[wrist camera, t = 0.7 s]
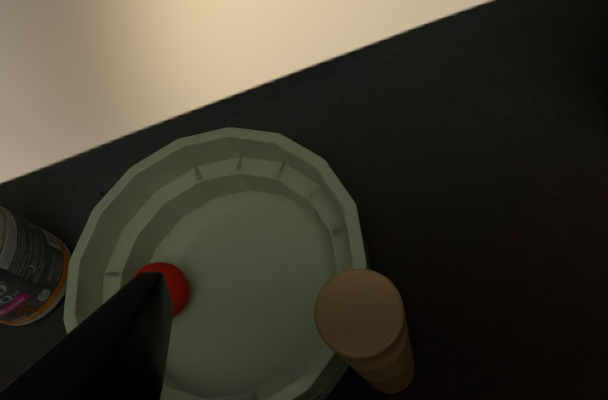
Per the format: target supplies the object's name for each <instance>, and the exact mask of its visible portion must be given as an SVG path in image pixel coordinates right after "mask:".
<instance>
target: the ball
mask: <svg viewBox="0 0 608 400" xmlns="http://www.w3.org/2000/svg"><path fill="white" fill-rule="evenodd" d="M150 271H160V272H162V273H163V274H164V276H165V278H166V282H167V285H168V289H169V292H170V296H171V299H172V303H173V317H174V316H176V315H177V314H178V313H180V312H181V310H182V309H183V308H184V306H185V305H186V303H187V300H188V296H189V284H188V281H187V278H186V276H185V275H184V273H183V272H182V271H181V270H180V269H179V268H177V267H176V266H174V265H172V264H170V263H166V262H154V263H150V264H148V265H146V266H144V267H142V268H141V269H140V270H138V271H137V272H136V273H135V275H134V276H133V278H134V277H135V276H136V275H137V274H139V273H141V272H150ZM133 278H132V279H133ZM132 279H131V280H132Z"/></svg>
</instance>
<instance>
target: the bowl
mask: <svg viewBox="0 0 608 400" xmlns="http://www.w3.org/2000/svg"><path fill="white" fill-rule="evenodd" d="M154 262H166V263H170V264H172V265H174V266H176V267H177V268H179V269H180V270H181V271H182V272H183V273H184V275H185V276H186V278H187V281H188V284H189V296H188V300H187V303H186V305H185V306H184V308H183V309H182V310H181V312H180V313H178V314H177V315H176V316H174V317H173V321H172V327H171V334H170V341H169V348H168V355H167V362H166V369H165V376H164V382H163V388H162V392H161V397H160V400H324V399H326V398H327V397H328V396H329V395H330V393H331V392H332V390H333V389H334V387H335V386H336V384H337V383H338V382H339V380H340V379H341V377H342V376H343V374H344V373H345V372H346V370H347V369H348V367H349V365H348V364H347V363H346V362H345V361H344V360H343V359H342V358H340V357H339V356H338V355H337V354H336V353H335V352H334V351H333V350H332V349H331V348H329V347H328V346H327V345H326V343H325V342H324V341H323V340H322V338H321V337H320V335H319V333H318V331H317V328H316V324H315V319H314V308H315V303H316V300H317V297H318V295H319V292H320V291H321V289H322V288H323V286H324V285H325V284H326V283H327V282H328V281H329V280H330V279H331V278H332V277H334V276H335V275H337V274H339V273H341V272H343V271H346V270H350V269H357V268H361V269H369V270H372V265H371V260H370V255H369V249H368V244H367V238H366V235H365V232H364V228H363V225H362V222H361V218H360V215H359V212H358V209H357V205H356V203H355V202H354V200H353V199H352V197H351V196H350V194H349V193H348V192H347V190H346V189H345V187H344V186H343V185H342V183H341V182H340V180H339V179H338V177H337V176H336V175H335V173H334V172H333V170H332V169H331V167H330V166H329V165H328V163H327V162H326V160H324V159H323V158H322V157H320V156H318V155H316V154H315V153H313V152H311V151H309V150H308V149H306V148H304V147H302V146H301V145H299V144H297V143H296V142H294V141H292V140H290V139H289V138H287V137H285V136H283V135H282V134H279V133H273V132H265V131H257V130H249V129H241V128H233V127H229V128H228V127H227V128H223V129H218V130H214V131H210V132H205V133H201V134H197V135H193V136H188V137H184V138H180V139H178V140H175V141H173V142H172V143H170V144H168V145H167V146H165V147H163V148H162V149H160V150H158V151H157V152H155V153H153V154H152V155H150V156H148V157H147V158H145V159H143V160H142V161H140V162H139V163H137V164H135V165H134V166H132V167H131V168H129V170H128V171H127V172H126V173H125V174H124V175H123V176H122V177H121V178H120V180H119V181H118V182H117V183H116V184H115V185H114V186H113V187H112V188H111V190H110V191H109V192H108V193H107V194H106V195H105V196H104V197H103V198H102V200H101V201H100V202H99V203H98V204H97V205H96V206H95V207H94V210H92V212H91V215H90V217H89V219H88V221H87V223H86V226H85V228H84V230H83V232H82V234H81V236H80V239H79V241H78V243H77V245H76V247H75V249H74V252H73V254H72V256H71V258H70V262H69V266H68V276H67V286H66V296H65V306H64V316H63V318H64V319H63V321H64V324H65V327H66V331H67V334H68V333H69V332H71V331H72V330H73V329H74V328H75V327H76V326H78V325H79V324H80V323H81V322H82V321H83V320H85V319H86V318H87V317H88V316H89V315H90V314H92V313H93V312H94V311H95V310H96V309H97V308H99V307H100V306H101V305H102V304H103V303H105V302H106V301H107V300H108V299H109V298H110V297H112V296H113V295H114V294H115V293H116V292H117V291H119V290H120V289H121V288H122V287H123V286H124V285H126V284H127V283H128V282H129V281H130V280H131V279H132V278H133V276H134V275H135V273H136V272H137V271H138V270H140V269H141V268H142V267H144V266H146V265H148V264H150V263H154Z"/></svg>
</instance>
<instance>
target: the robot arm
mask: <svg viewBox="0 0 608 400" xmlns="http://www.w3.org/2000/svg"><path fill="white" fill-rule="evenodd" d="M172 321H173V303H172V299H171V296H170V292H169V289H168V285H167V282H166V278H165V276H164V274H163V273H162V272H160V271H150V272H141V273H139V274H137V275H136V276H135V277H134V278H133V279H132V280H130V281H129V282H128V283H127V284H126V285H124V286H123V287H122V288H121V289H120V290H119V291H117V292H116V293H115V294H114V295H113V296H112V297H110V298H109V299H108V300H107V301H106V302H105V303H103V304H102V305H101V306H100V307H99V308H97V309H96V310H95V311H94V312H93V313H92V314H90V315H89V316H88V317H87V318H86V319H85V320H83V321H82V322H81V323H80V324H79V325H78V326H76V327H75V328H74V329H73V330H72V331H71V332H69V333H68V334H67V335H66V336H65V337H63V338H62V339H61V340H60V341H59V342H58V343H56V344H55V345H54V346H53V347H52V348H51V349H49V350H48V351H47V352H46V353H45V354H44V355H42V356H41V357H40V358H39V359H38V360H37V361H35V362H34V363H33V364H32V365H31V366H29V367H28V368H27V369H26V370H25V371H24V372H22V373H21V374H20V375H19V376H18V377H17V378H15V379H14V380H13V381H12V382H11V383H10V384H8V385H7V386H6V387H5V388H4V389H2V390H1V391H0V400H160V397H161V392H162V388H163V382H164V376H165V369H166V362H167V355H168V348H169V341H170V334H171V327H172Z"/></svg>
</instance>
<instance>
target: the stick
mask: <svg viewBox="0 0 608 400" xmlns="http://www.w3.org/2000/svg"><path fill="white" fill-rule="evenodd" d="M314 319H315V324H316V328H317V331H318V333H319V335H320V337H321V338H322V340H323V341H324V342H325V343H326V345H327V346H328V347H329V348H331V349H332V350H333V351H334V352H335V353H336V354H337V355H338V356H339V357H340V358H342V359H343V360H344V361H345V362H346V363H347V364H348V365H349V366H350V367H351V368H353V369H354V370H355V371H356V372H357V373H358V374H359V375H360V376H361V377H362V378H364V379H365V380H366V381H367V382H368V383H369V384H370V385H371V386H372V387H374V388H375V389H376V390H378V391H380V392H383V393H387V394H394V393H398V392H401V391H402V390H404V389H405V388H406V387H408V385H409V384H410V383H411V381H412V379H413V377H414V372H415V365H414V359H413V354H412V348H411V343H410V338H409V332H408V327H407V321H406V316H405V311H404V305H403V301H402V298H401V296H400V293H399V292H398V290H397V288H396V287H395V286H394V284H393V283H392V282H391V281H390V280H389V279H388V278H386V277H385V276H383V275H382V274H380V273H378V272H375V271H373V270H369V269H361V268H357V269H350V270H346V271H343V272H341V273H339V274H337V275H335V276H334V277H332V278H331V279H330V280H329V281H328V282H327V283H326V284H325V285H324V286H323V288H322V289H321V291H320V292H319V295H318V297H317V300H316V303H315V308H314Z"/></svg>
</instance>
